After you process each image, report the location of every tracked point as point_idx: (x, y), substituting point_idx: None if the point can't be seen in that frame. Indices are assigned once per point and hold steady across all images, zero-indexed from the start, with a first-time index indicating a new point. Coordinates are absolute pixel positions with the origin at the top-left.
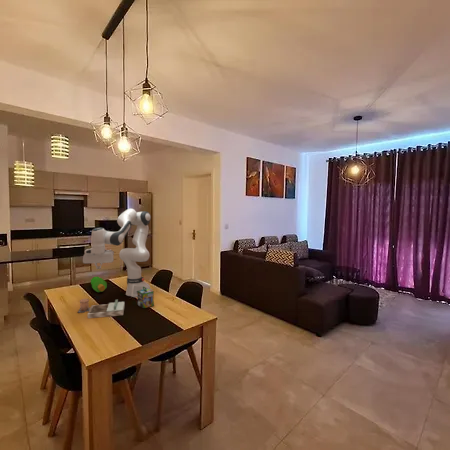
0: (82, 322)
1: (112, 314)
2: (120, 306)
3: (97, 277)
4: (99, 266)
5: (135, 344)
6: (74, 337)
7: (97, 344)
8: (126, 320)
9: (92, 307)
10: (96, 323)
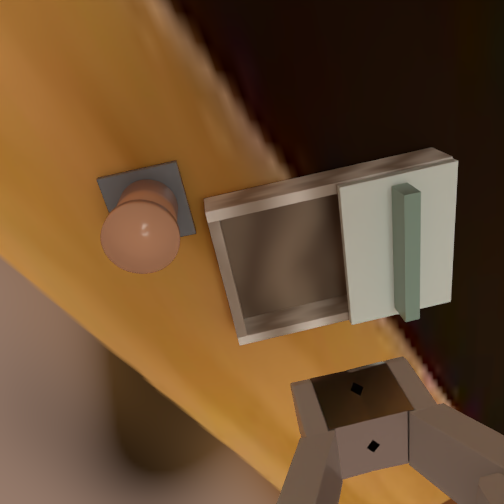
0: (224, 358)
1: None
2: (433, 255)
3: None
4: (402, 454)
5: None
6: (253, 464)
7: (356, 488)
8: (449, 327)
9: (225, 247)
10: (303, 363)
